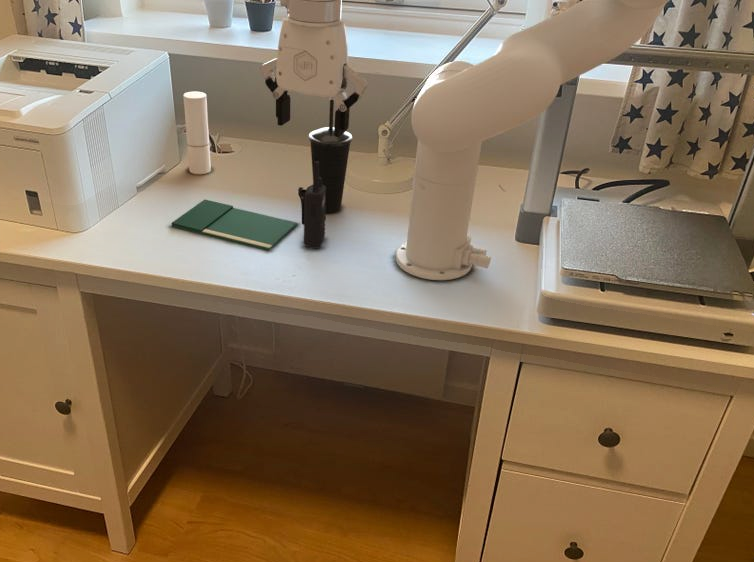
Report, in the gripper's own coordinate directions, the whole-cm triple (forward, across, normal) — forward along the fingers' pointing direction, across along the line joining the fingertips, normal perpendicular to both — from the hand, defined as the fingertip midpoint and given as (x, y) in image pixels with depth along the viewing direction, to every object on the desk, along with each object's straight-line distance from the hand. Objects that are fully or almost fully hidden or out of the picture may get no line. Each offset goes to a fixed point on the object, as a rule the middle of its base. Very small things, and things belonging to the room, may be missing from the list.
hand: (311, 128), depth 118 cm
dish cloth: (+20, -14, 0) cm, 24 cm away
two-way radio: (+20, 0, 0) cm, 20 cm away
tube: (+20, -33, +18) cm, 42 cm away
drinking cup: (+20, -3, +14) cm, 24 cm away
